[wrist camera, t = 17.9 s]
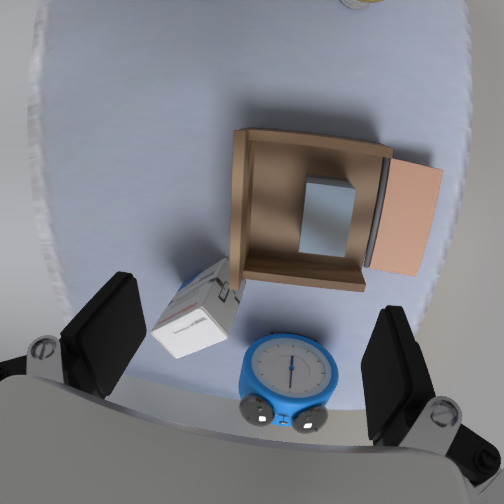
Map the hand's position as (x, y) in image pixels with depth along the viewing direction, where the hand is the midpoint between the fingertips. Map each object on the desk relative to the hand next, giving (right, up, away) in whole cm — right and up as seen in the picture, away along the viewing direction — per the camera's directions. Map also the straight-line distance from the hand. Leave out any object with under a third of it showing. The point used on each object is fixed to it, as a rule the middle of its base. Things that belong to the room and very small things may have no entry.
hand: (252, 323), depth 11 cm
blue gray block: (+8, +8, +22) cm, 24 cm away
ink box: (-5, -2, +31) cm, 31 cm away
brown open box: (+7, +9, +24) cm, 26 cm away
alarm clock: (+6, -12, +34) cm, 36 cm away
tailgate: (+14, +7, +21) cm, 26 cm away
